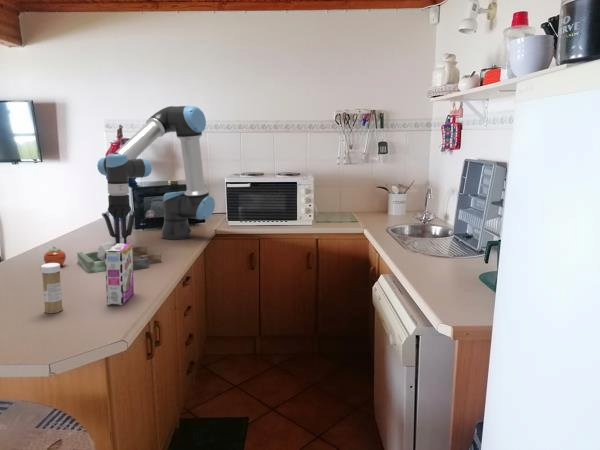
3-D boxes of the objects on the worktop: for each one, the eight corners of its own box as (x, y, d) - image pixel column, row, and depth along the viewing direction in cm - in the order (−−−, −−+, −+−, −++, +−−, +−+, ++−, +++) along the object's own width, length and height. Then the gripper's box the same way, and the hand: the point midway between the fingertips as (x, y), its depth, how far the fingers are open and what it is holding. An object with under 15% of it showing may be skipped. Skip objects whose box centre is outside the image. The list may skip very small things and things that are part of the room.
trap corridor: (142, 251, 192) (141, 242, 192) (166, 265, 172) (166, 255, 171) (74, 260, 176) (74, 250, 175) (92, 276, 155) (91, 265, 154)
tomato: (41, 269, 161) (40, 248, 160) (47, 264, 168) (46, 244, 167) (64, 268, 163) (62, 248, 162) (68, 263, 170) (67, 243, 169)
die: (96, 267, 169) (107, 249, 166) (91, 252, 174) (101, 234, 171) (116, 269, 175) (127, 252, 172) (111, 255, 180) (121, 237, 177)
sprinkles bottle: (45, 309, 124) (41, 263, 121) (63, 307, 126) (59, 261, 123) (44, 315, 120) (40, 267, 117) (63, 312, 122) (59, 265, 119)
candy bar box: (124, 305, 128) (121, 251, 125) (106, 306, 127) (103, 251, 124) (135, 293, 139) (133, 242, 136) (118, 293, 138) (116, 242, 135)
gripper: (103, 196, 162) (107, 257, 166) (138, 194, 170) (141, 253, 174) (98, 194, 168) (101, 254, 172) (132, 192, 176) (135, 249, 180)
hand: (121, 253), depth 173 cm, fingers closed
